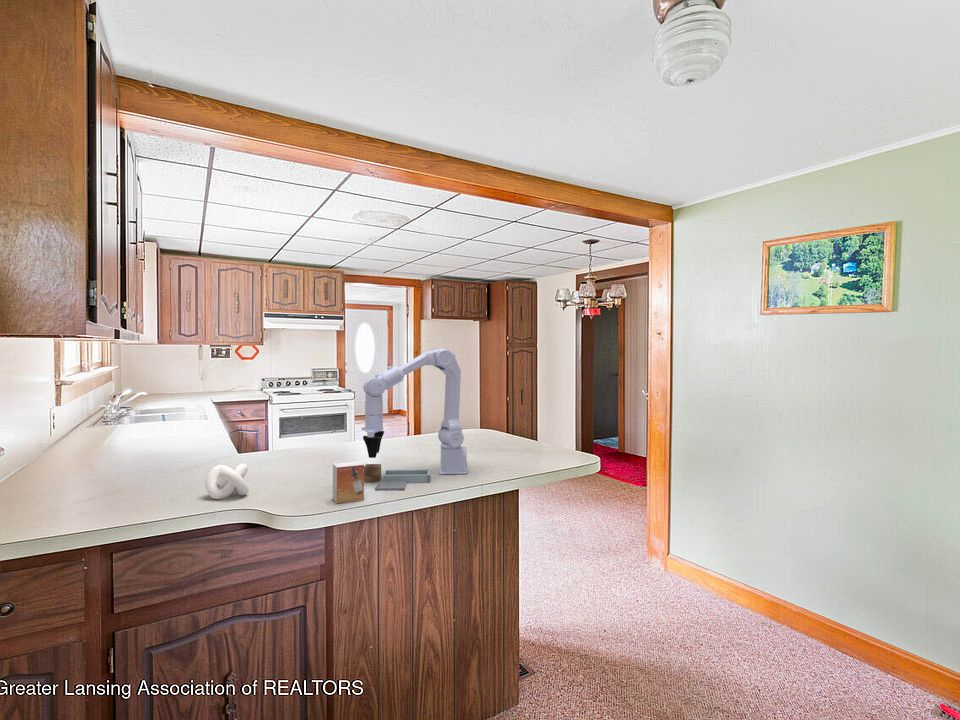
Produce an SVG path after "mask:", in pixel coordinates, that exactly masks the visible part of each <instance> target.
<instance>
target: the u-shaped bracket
mask: <svg viewBox="0 0 960 720" xmlns="http://www.w3.org/2000/svg"><path fill="white" fill-rule="evenodd" d="M382 477H383V478H382V479H383V480H382V481H407V483H406V484H422V483H423V484H425V483H426V484H427V483H428V484H429V483H430V482H431V469H386V470H385V474H383V476H382Z"/></svg>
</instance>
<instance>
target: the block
mask: <svg viewBox="0 0 960 720" xmlns="http://www.w3.org/2000/svg"><path fill="white" fill-rule="evenodd" d="M379 481H382V463H366V464H365V465H364V483H378V482H379Z"/></svg>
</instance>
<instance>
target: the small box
mask: <svg viewBox="0 0 960 720" xmlns="http://www.w3.org/2000/svg"><path fill="white" fill-rule="evenodd" d="M364 466H365V465H364V463H363V462H362V461H360V460H356V461H347V462H334V463H332V500H333V501H334V503H336V504H342V503H350V502H360V501H365V482H364Z"/></svg>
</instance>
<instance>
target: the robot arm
mask: <svg viewBox="0 0 960 720" xmlns="http://www.w3.org/2000/svg"><path fill="white" fill-rule="evenodd" d="M424 366H433V367H435V368H437V369H439V370H440V372H442V373H443V374H444V376H445V383H444V385H445V386H444V387H445V388H444V389H445V390H444V407H443V408H444V410H443V411H444V412H443V420H442V422H441V424H440V428H439V431H438V436H437V438H438V440H439V442H441V443H440V467H439V471H438V474H439V475H467V468H468V461H467V460H468V459H467V456H468V455H467V452H468V451H467V446H462V444H463V443H464V440H465V437H464V434H463V429H462V424H461V421H460V420H459V419H460V404H461V403H460V399H461V379H462V378H461V376H462V369H461V367H460V365H459V363H458V361H457V359H456V354H455V353H453V352H452V351H451V350H450V349H448V348H432V349H430V350H428V351H427V350H426V351H424V352H422V353H421V354H419V355H418V356H416V357H415V358H412V359H411V360H409V361H407V362H406V363H405V364H403V365H401V366H400V367H399V366H396V365H394V366H392V365H389V366H388V367H386V368H387V369H385V371H383V372H381V373H376V374H374V376H375V377H370V378H367V379H366V380H365V382H364V384H363V386H362V389H363V392H365V400H364V426H362V427H361V431H365V432H366V434H367V435H363V436H362V440H363V442H364V443H365V445H366V449H367V455H368V458H369V459H370V458H371V459H373V458H375V459H376V458H377V454H379V452H380V449H381V443H382V439H383V436H384V434H385V431H384V411H383V410H384V409H383V407H384V404H383V403H384V401H383V394H384V392H385V391H387V390H389V389H391V388H392V387H394V386H396V385H398V384H399V383H401V382H403V380H404V378H405V376H406V375H408V374H410V373H412V372H414V371H416V370H419V369H420V368H423V367H424Z"/></svg>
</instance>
